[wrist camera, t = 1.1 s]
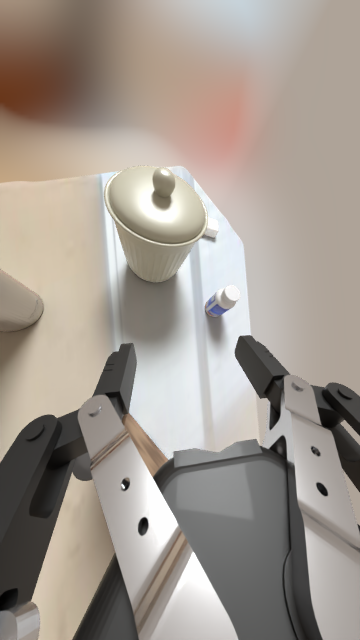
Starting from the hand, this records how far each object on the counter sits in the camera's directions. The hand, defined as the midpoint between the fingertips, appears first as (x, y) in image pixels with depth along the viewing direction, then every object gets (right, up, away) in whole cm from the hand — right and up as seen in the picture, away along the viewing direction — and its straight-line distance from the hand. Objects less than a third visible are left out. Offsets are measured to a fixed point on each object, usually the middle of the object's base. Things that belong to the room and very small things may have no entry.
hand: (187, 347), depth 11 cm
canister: (-8, +18, +29) cm, 35 cm away
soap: (+8, +34, +39) cm, 52 cm away
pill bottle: (+9, +5, +30) cm, 32 cm away
